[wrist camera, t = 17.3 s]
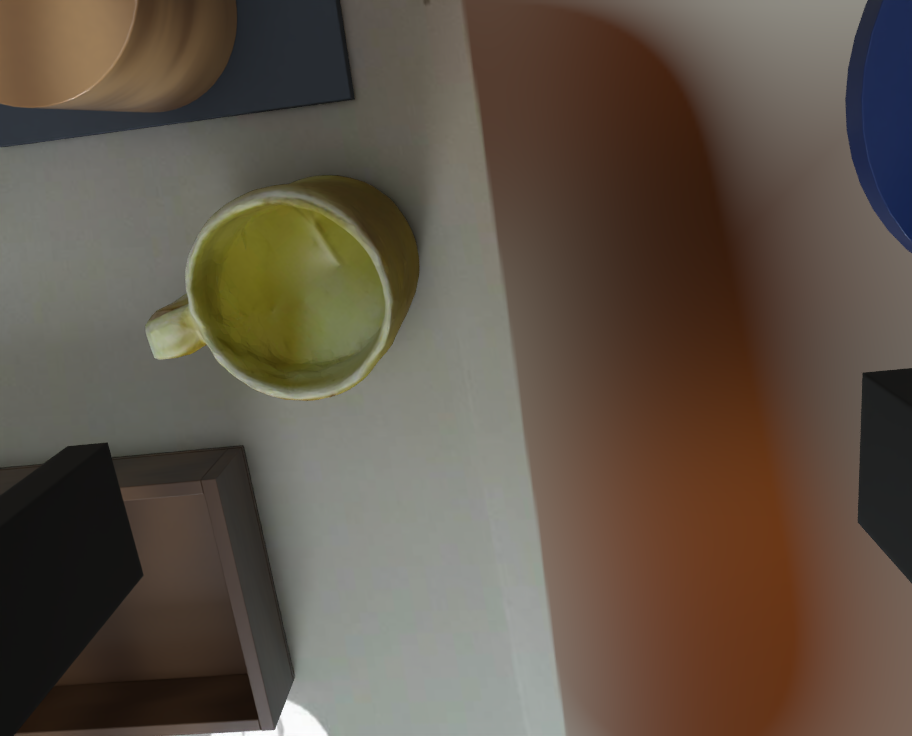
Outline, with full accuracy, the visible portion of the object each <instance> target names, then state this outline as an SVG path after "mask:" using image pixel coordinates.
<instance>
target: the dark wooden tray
mask: <svg viewBox="0 0 912 736" xmlns="http://www.w3.org/2000/svg"><path fill="white" fill-rule="evenodd" d="M112 461H113V465H114V468H115V472H116V476H117V479H118V483H119V487H120V490H121V494H122V497H123V501H124V505H125V508H126V512H127V516H128V519H129V523H130V527H131V530H132V534H133V538H134V541H135V545H136V549H137V552H138V556H139V560H140V563H141V567H142V571H143V574H144V576H143V577H142V578H141V579H140V581H139V582H138V583H137V584H136V586H135V587H134V588H133V589H132V591H131V592H130V593H129V594H128V595H127V597H126V598H125V599H124V600H123V602H122V603H121V604H120V605H119V607H118V608H117V609H116V610H115V612H114V613H113V614H112V615H111V616H110V618H109V619H108V620H107V621H106V623H105V624H104V625H103V626H102V628H101V629H100V630H99V631H98V633H97V634H96V635H95V636H94V637H93V639H92V640H91V641H90V642H89V644H88V645H87V646H86V647H85V649H84V650H83V651H82V652H81V653H80V655H79V656H78V657H77V658H76V660H75V661H74V662H73V663H72V665H71V666H70V667H69V668H68V670H67V671H66V672H65V673H64V674H63V676H62V677H61V678H60V679H59V681H58V682H57V683H56V684H55V686H54V687H53V688H52V689H51V691H50V692H49V693H48V694H47V695H46V697H45V698H44V699H43V700H42V702H41V703H40V704H39V705H38V707H37V708H36V709H35V710H34V712H33V713H32V714H31V715H30V716H29V718H28V719H27V720H26V721H25V723H24V724H23V725H22V726H21V728H20V729H19V730H18V731H17V732H16V734H15V735H14V736H172V735H190V734H207V733H225V732H243V731H260V730H262V731H265V730H275V728H276V725H277V723H278V720H279V717H280V715H281V712H282V710H283V707H284V704H285V702H286V699H287V696H288V694H289V691H290V689H291V686H292V683H293V681H294V673H293V669H292V664H291V660H290V655H289V651H288V646H287V642H286V637H285V633H284V628H283V624H282V619H281V614H280V610H279V605H278V601H277V596H276V592H275V587H274V583H273V578H272V574H271V569H270V565H269V560H268V556H267V551H266V547H265V542H264V538H263V533H262V529H261V524H260V520H259V515H258V511H257V506H256V501H255V497H254V492H253V488H252V483H251V479H250V474H249V470H248V465H247V461H246V456H245V452H244V447H243V446H233V447H222V448H212V449H201V450H190V451H180V452H169V453H158V454H147V455H137V456H126V457H115V458H112ZM41 465H43V464H40V465H29V466H19V467H8V468H0V495H1V494H3V493H4V492H6V491H7V490H8V489H10V488H11V487H12V486H14V485H15V484H17V483H18V482H19V481H21V480H22V479H23V478H25V477H26V476H28V475H29V474H30V473H32V472H33V471H34V470H36V469H37V468H39V467H40V466H41Z"/></svg>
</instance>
